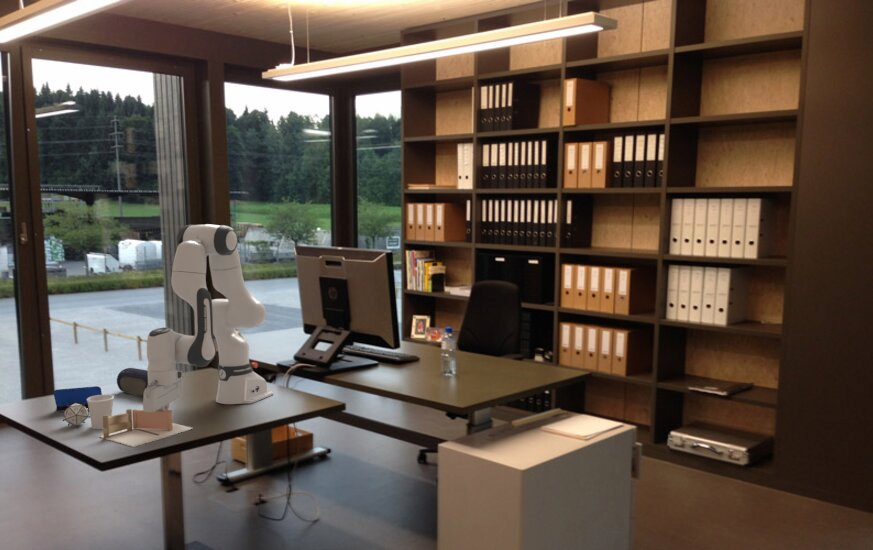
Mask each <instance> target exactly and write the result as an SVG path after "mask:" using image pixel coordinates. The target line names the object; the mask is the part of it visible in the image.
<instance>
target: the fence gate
mask: <svg viewBox="0 0 873 550" xmlns="http://www.w3.org/2000/svg"><path fill="white" fill-rule="evenodd" d="M172 423H173V410H172V409H168V410H167V411H160V410H157V411H155V412H145V411H144V410H143V409H136V408H135V409H132V427H133V428H140V429H165V430H172Z"/></svg>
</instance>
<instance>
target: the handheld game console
mask: <svg viewBox="0 0 873 550" xmlns="http://www.w3.org/2000/svg"><path fill="white" fill-rule="evenodd" d="M96 395H103V393H102V388H101V387H100V386H86V387H75V388H74V387H71V388H70V387H69V388H64V389H63V388H60V389H54V390H53V397H54V401H55V405H56V412H62V410H64V411H65V410H66V409H67V408H68V407H67V405H69V406H71V405H73V404H75V401H76V403H77V404H82V405H83V403H85V404H84V406H85V407H86V408H89V407H88V401H87V398H89V397H92V396H96Z"/></svg>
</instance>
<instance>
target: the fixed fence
mask: <svg viewBox="0 0 873 550" xmlns="http://www.w3.org/2000/svg"><path fill="white" fill-rule="evenodd" d="M132 410H133V409H132V408H128V409H126V410H125V411H126V412H121V413H118V414H115V415H112V416H111V417H108V415H104V416H103V429H102V432H103V434H102V435H103V436H104V438H103V439H104V440H107V439H106V438H108V437H109V434H111V433H114V432H118V431H121V430H125V429H127V431H132V427H133V413H132Z"/></svg>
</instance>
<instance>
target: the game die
mask: <svg viewBox="0 0 873 550" xmlns="http://www.w3.org/2000/svg"><path fill="white" fill-rule="evenodd" d="M84 404H85V403H83V405H82V404H77V403H76V401H75V404H73V405H71V406H69V405H67V407H68V408H67V409H66V410H64V411H61V412H62V414H64V418H63V419H62V421H61V422H64V421H65V422H67V423H68V424H67V426H68V427H69V426H70V425H72V426H75V427H76V429H78V428H79V425H82V424H84V423H85V424H86V420H87V419H91V418H90V415H89V412H88V411H89V408H88V409H87V408H86V407H85V406H84Z"/></svg>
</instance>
